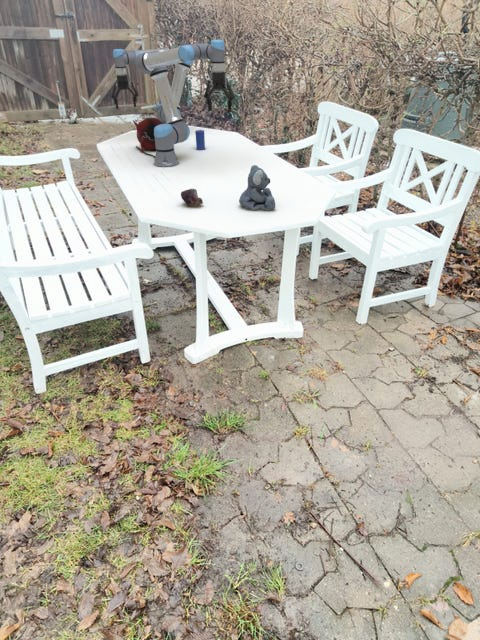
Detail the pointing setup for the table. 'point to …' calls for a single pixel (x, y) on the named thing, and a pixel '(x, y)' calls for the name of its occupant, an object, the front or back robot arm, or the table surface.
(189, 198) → the rock
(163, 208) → the table surface
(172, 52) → the front robot arm
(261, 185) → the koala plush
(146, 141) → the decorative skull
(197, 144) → the can
